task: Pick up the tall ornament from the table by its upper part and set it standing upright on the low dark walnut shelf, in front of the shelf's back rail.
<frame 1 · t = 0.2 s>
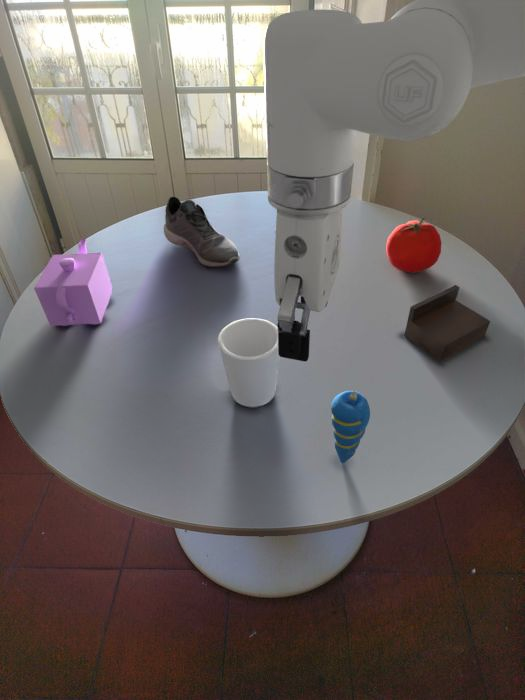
hand: (304, 329, 53), 25 cm above the table, tool pointing down, fingers open, 9 cm apart
ornament: (343, 461, 70), on the table
cup: (253, 394, 81), on the table
tomato: (408, 268, 108), on the table
athletic shoe: (203, 251, 117), on the table
teapot: (87, 308, 100), on the table
shelf: (444, 336, 90), on the table
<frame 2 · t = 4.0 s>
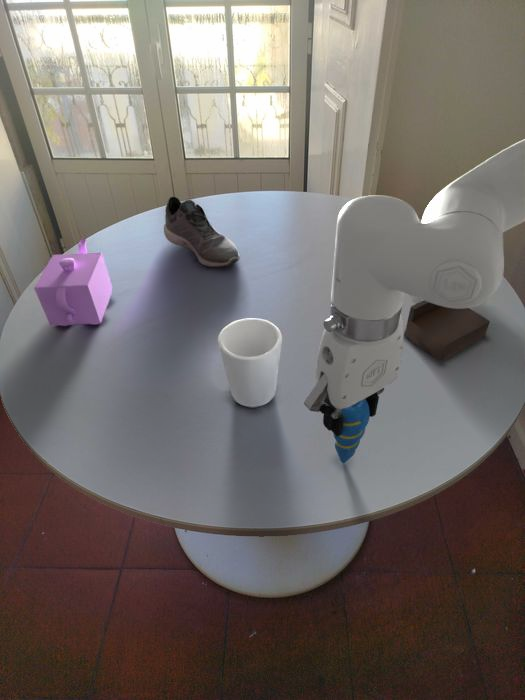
hand: (349, 418, 63), 10 cm above the table, tool pointing down, fingers closed on ornament, 5 cm apart
ornament: (343, 461, 70), on the table, touching gripper
everything else where it was.
when the fingers open (14 cm above the table, at t = 11.9 s): ornament stays where it is, resting on shelf.
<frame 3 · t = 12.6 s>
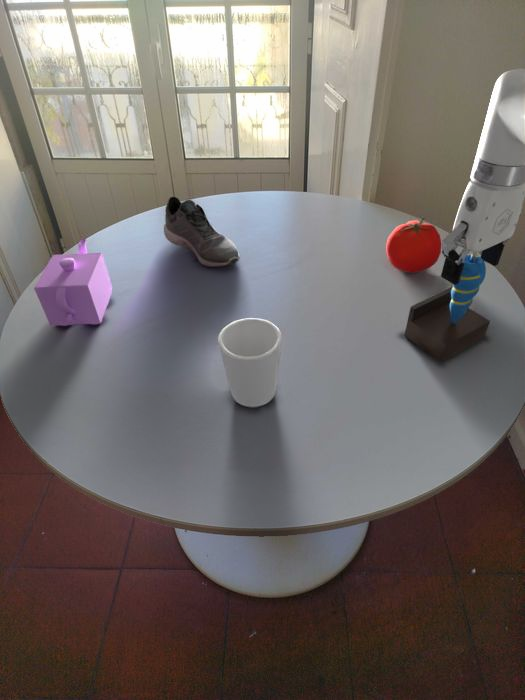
hand: (469, 271, 79), 15 cm above the table, tool pointing down, fingers open, 9 cm apart
ornament: (453, 323, 86), point 4 cm above the table, touching shelf
everything else where it was.
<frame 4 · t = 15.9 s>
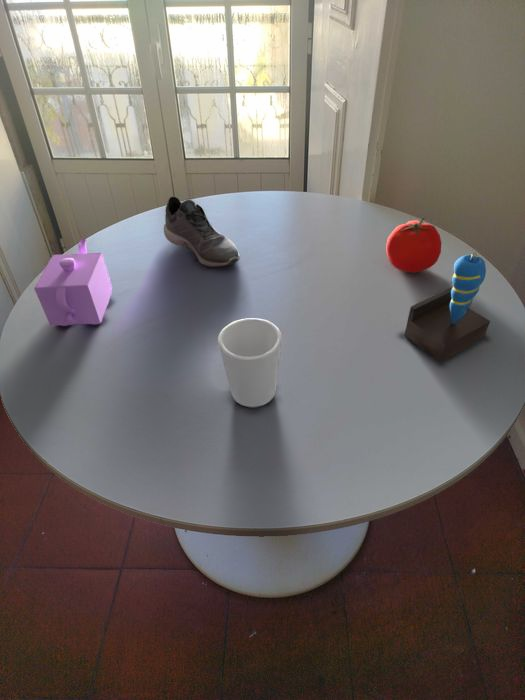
nothing on the table moved.
at the end: ornament 0.4 cm off-centre on the shelf, point 3.8 cm above the shelf's base; ornament tilted 0°; the gripper is holding nothing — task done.
